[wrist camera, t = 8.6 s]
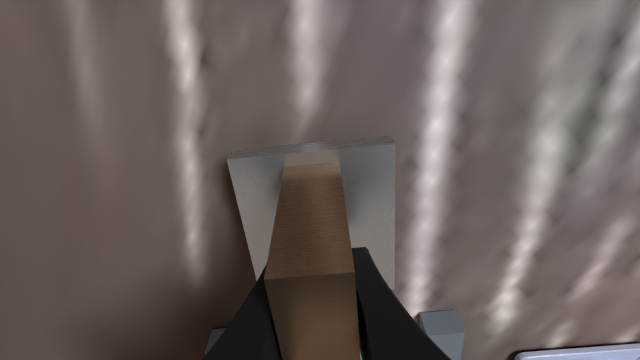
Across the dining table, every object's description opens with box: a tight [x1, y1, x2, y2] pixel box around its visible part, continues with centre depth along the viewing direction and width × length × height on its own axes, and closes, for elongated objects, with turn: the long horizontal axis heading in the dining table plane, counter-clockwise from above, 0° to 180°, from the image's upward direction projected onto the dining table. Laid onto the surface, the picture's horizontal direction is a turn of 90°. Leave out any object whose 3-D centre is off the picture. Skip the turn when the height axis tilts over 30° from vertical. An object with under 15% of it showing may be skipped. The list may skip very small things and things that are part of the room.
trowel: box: [227, 136, 395, 360], centre depth 12 cm, size 6×7×6 cm
